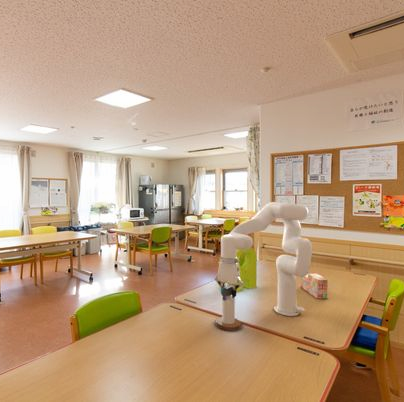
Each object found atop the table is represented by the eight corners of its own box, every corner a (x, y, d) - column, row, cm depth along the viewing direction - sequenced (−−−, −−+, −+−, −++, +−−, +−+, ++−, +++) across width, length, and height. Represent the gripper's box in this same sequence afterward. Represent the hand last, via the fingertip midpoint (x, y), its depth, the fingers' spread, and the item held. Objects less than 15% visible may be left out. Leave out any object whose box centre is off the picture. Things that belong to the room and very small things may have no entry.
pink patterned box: (300, 287, 201) (301, 269, 201) (309, 287, 201) (310, 269, 201) (317, 298, 180) (317, 279, 179) (327, 299, 180) (327, 279, 179)
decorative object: (234, 292, 192) (234, 247, 191) (227, 289, 198) (227, 245, 197) (256, 287, 202) (256, 244, 200) (249, 284, 207) (249, 242, 206)
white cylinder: (228, 316, 154) (228, 281, 153) (245, 324, 144) (245, 287, 143) (211, 321, 148) (211, 285, 147) (228, 330, 138) (228, 291, 137)
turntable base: (244, 323, 148) (244, 321, 148) (237, 333, 137) (237, 331, 137) (220, 317, 155) (220, 315, 155) (211, 326, 144) (211, 324, 144)
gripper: (248, 260, 143) (247, 297, 143) (216, 256, 153) (216, 290, 153) (242, 264, 137) (242, 302, 137) (209, 259, 147) (209, 294, 147)
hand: (228, 295), depth 145 cm, fingers closed on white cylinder, 4 cm apart
